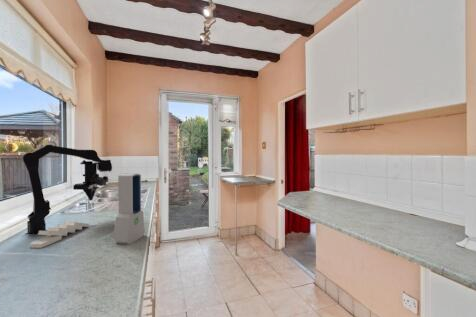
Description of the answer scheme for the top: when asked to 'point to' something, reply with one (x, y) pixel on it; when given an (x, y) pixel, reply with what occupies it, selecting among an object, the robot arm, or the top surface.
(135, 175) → the electronic device
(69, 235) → the rubber mat
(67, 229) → the domino
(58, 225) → the domino
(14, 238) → the top surface
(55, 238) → the domino
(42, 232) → the domino
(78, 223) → the domino
